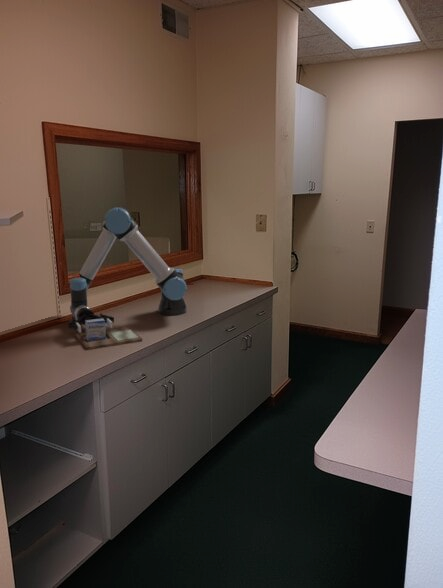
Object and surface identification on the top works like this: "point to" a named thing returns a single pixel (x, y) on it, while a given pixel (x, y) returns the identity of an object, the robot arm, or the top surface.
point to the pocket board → (111, 338)
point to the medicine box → (95, 329)
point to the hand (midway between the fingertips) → (96, 327)
